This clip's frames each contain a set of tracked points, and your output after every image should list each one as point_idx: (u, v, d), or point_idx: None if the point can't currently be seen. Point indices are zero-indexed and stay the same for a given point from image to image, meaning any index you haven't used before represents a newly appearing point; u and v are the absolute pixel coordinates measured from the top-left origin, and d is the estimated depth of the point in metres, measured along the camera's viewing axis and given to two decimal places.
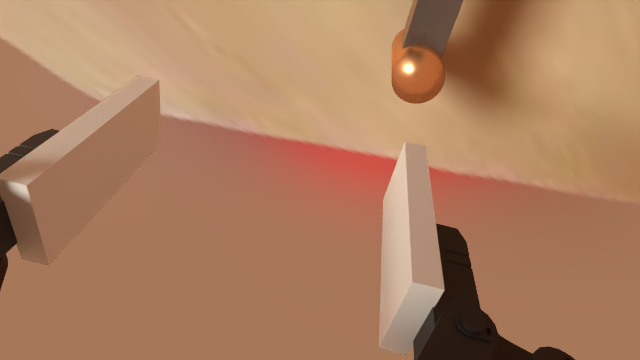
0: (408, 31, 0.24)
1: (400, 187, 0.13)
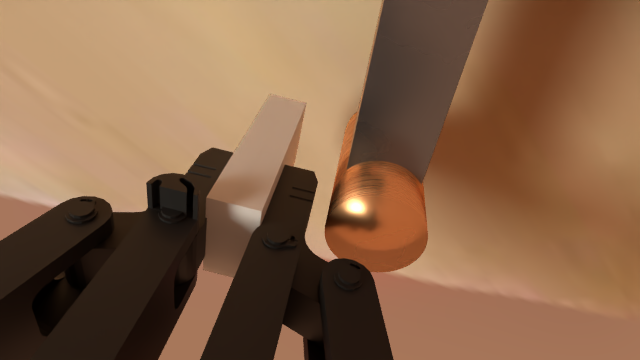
0: (354, 139, 0.12)
1: None
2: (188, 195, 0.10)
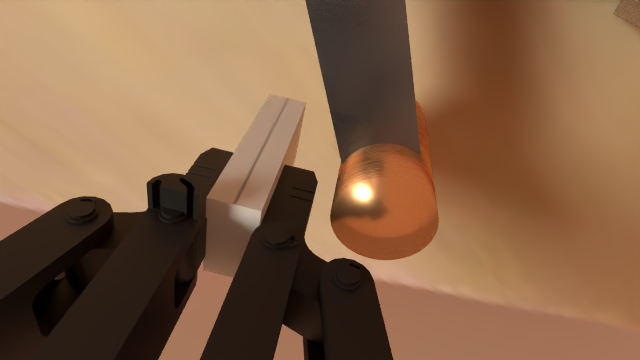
0: (336, 132, 0.12)
1: None
2: (188, 195, 0.10)
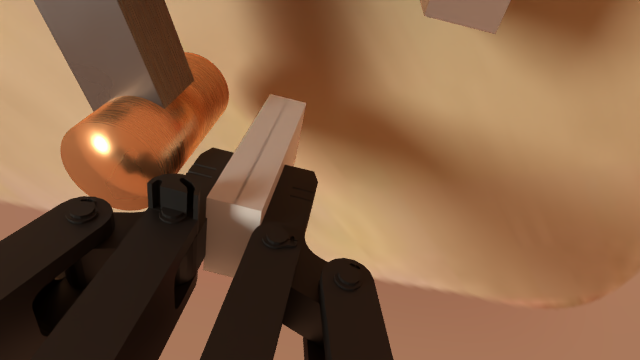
0: (82, 85, 0.13)
1: None
2: (188, 195, 0.10)
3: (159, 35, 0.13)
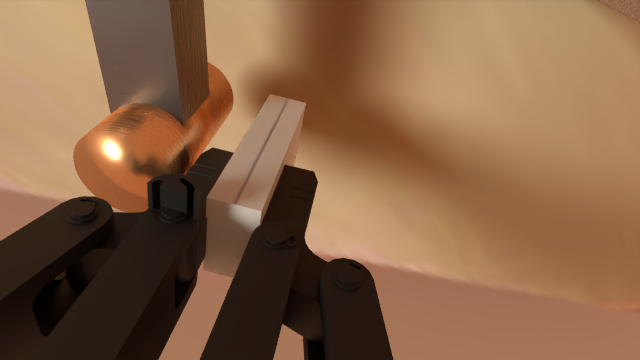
0: (106, 82, 0.13)
1: None
2: (188, 195, 0.10)
3: (194, 55, 0.13)
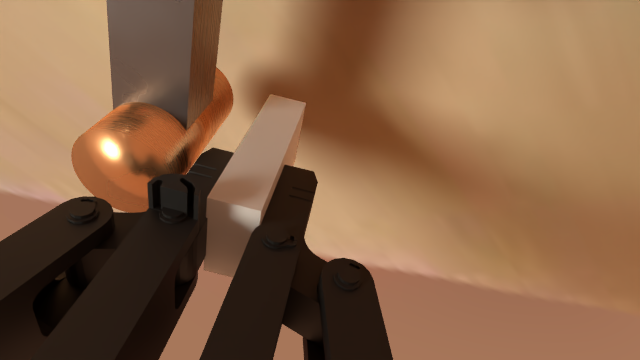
0: (114, 77, 0.13)
1: None
2: (189, 195, 0.10)
3: (206, 62, 0.13)
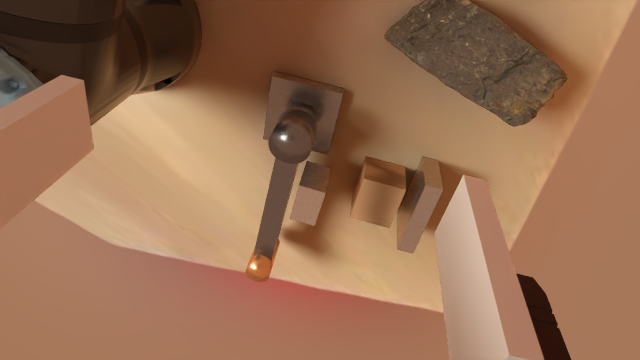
0: (255, 249, 0.52)
1: (464, 228, 0.12)
2: None
3: (276, 244, 0.53)
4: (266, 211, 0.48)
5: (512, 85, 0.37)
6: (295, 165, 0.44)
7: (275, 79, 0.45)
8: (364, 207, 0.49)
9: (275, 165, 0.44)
